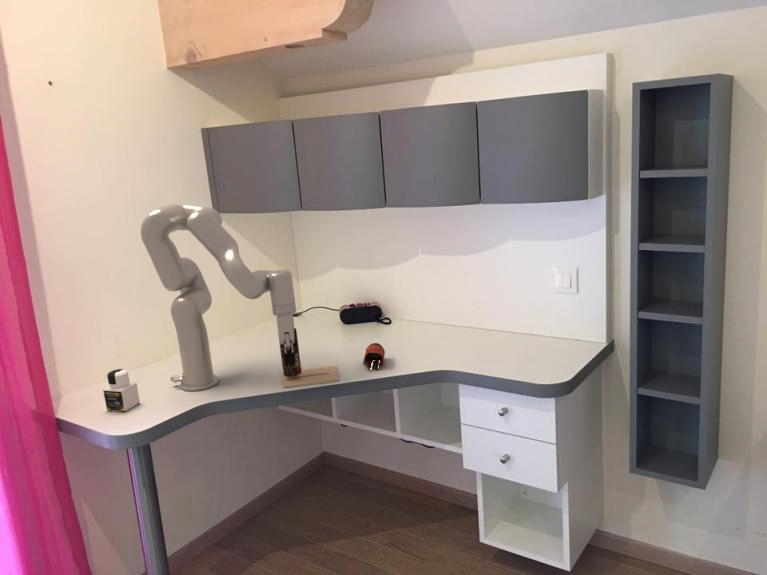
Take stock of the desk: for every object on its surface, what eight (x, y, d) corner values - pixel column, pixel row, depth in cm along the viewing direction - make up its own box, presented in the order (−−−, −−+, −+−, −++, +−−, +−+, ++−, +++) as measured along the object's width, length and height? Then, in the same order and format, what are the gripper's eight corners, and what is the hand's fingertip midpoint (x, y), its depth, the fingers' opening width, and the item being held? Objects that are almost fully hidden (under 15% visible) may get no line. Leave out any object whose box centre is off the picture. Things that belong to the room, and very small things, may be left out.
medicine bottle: (106, 410, 203) (99, 374, 200) (122, 401, 209) (116, 366, 207) (124, 412, 200) (117, 375, 198) (140, 403, 207) (134, 367, 204)
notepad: (283, 388, 209) (283, 386, 209) (283, 373, 223) (283, 371, 222) (339, 381, 211) (339, 379, 211) (336, 367, 225) (336, 365, 225)
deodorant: (296, 377, 212) (290, 333, 209) (280, 376, 214) (274, 332, 211) (304, 370, 217) (299, 327, 214) (288, 370, 219) (283, 327, 216)
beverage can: (386, 358, 229) (384, 340, 228) (384, 370, 218) (383, 351, 216) (365, 360, 230) (364, 342, 228) (363, 372, 218) (361, 353, 217)
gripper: (273, 303, 219) (279, 354, 223) (271, 316, 202) (279, 371, 206) (295, 300, 219) (301, 351, 223) (296, 313, 203) (302, 368, 207)
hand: (290, 360), depth 215 cm, fingers closed on deodorant, 5 cm apart
